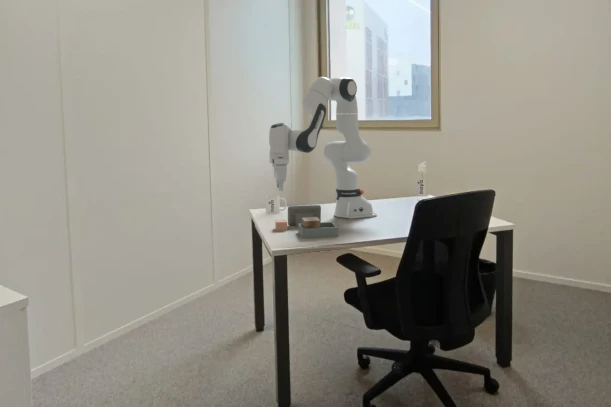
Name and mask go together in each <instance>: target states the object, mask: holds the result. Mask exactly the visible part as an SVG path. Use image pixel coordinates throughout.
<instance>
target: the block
mask: <svg viewBox="0 0 611 407" xmlns="http://www.w3.org/2000/svg"><path fill="white" fill-rule="evenodd" d="M302 227H303V228H304V229H305V228H320V220H319V218H318V217H307V218H302Z"/></svg>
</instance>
